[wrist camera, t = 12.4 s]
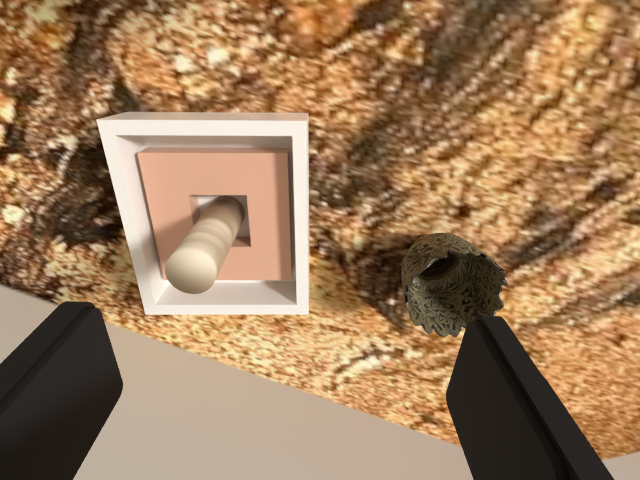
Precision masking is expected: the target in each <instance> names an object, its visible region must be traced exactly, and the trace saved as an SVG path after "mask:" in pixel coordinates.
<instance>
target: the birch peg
mask: <svg viewBox="0 0 640 480" xmlns="http://www.w3.org/2000/svg"><path fill="white" fill-rule="evenodd" d="M244 216H245V211H244V208H243V206H242V204H241V203H240V202H239V201H238V200H237V199H235V198H234V197H231V196H219V197H217V198H215V199H214V200H213V201H212V202H211V204H210V205H209V206H208V208H207V209H206V210H205V212H204V213H203V214H202V216H201V217H200V218H199V220H198V221H197V222H196V223H195V225H194V226H193V227H192V229H191V230H190V231H189V233H188V234H187V235H186V237H185V238H184V239H183V241H182V242H181V243H180V245H179V246H178V247H177V249H176V250H175V251H174V252H173V254H172V255H171V256H170V258H169V259H168V260H167V262H166V265H165V274H166V277H167V279H168V281H169V282H170V284H171V285H172V286H173V287H175V288H176V289H178V290H179V291H181V292H184V293H188V294H200V293H203V292H205V291H207V290H209V289H210V288H211V287H212V285H213V284H214V282H215V280H216V277H217V275H218V273H219V271H220V269H221V267H222V265H223V262H224V260H225V258H226V256H227V254H228V252H229V250H230V247H231V245H232V243H233V241H234V239H235V237H236V235H237V232H238V230H239V228H240V226H241V224H242V222H243V220H244Z"/></svg>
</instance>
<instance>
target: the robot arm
mask: <svg viewBox="0 0 640 480" xmlns="http://www.w3.org/2000/svg"><path fill="white" fill-rule="evenodd" d="M122 389H123V381H122V378H121V375H120V371H119V368H118V365H117V362H116V358H115V355H114V352H113V349H112V345H111V342H110V339H109V336H108V332H107V329H106V326H105V323H104V319H103V316H102V313H101V311H100V310H99V309H98V308H95V306H94V305H93V304H92V303H90V302H71V301H66V302H63V303H62V304H60V305H59V306H58V307H57V308H56V309H55V310H54V311H53V312H52V313H51V314H50V315H49V316H48V317H47V318H46V319H45V320H44V321H43V322H42V323H41V324H40V325H39V326H38V327H37V328H36V329H35V330H34V331H33V332H32V333H31V334H30V335H29V336H28V337H27V338H26V339H25V340H24V341H23V342H22V343H21V344H20V345H19V346H18V347H17V348H16V349H15V350H14V351H13V352H12V353H11V354H10V355H9V356H8V357H7V358H6V359H5V360H4V361H3V362H2V363H1V364H0V480H73V478H74V476H75V475H76V473H77V471H78V469H79V468H80V466H81V464H82V462H83V461H84V459H85V457H86V455H87V454H88V452H89V450H90V448H91V446H92V445H93V443H94V441H95V440H96V438H97V436H98V434H99V433H100V431H101V429H102V427H103V426H104V424H105V422H106V420H107V419H108V417H109V415H110V413H111V411H112V410H113V408H114V406H115V405H116V403H117V401H118V399H119V397H120V395H121V393H122ZM446 401H447V406H448V409H449V412H450V415H451V417H452V420H453V423H454V426H455V429H456V431H457V434H458V437H459V440H460V443H461V445H462V448H463V451H464V454H465V457H466V459H467V462H468V465H469V468H470V471H471V473H472V476H473V479H474V480H614V479H613V477H612V476H611V474H610V473H609V471H608V470H607V468H606V467H605V466H604V464H603V462H602V461H601V459H600V458H599V457H598V455H597V454H596V452H595V451H594V449H593V448H592V446H591V445H590V443H589V442H588V440H587V439H586V437H585V436H584V434H583V433H582V432H581V430H580V429H579V427H578V426H577V424H576V423H575V421H574V420H573V418H572V417H571V415H570V414H569V412H568V411H567V409H566V408H565V407H564V405H563V404H562V402H561V401H560V399H559V398H558V396H557V395H556V393H555V392H554V390H553V389H552V387H551V386H550V384H549V383H548V382H547V380H546V379H545V378H544V377H543V375H542V374H541V373H540V372H539V370H538V369H537V367H536V366H535V364H534V363H533V361H532V360H531V358H530V357H529V355H528V354H527V352H526V351H525V349H524V348H523V346H522V345H521V343H520V342H519V340H518V339H517V337H516V336H515V335H514V333H513V332H512V330H511V329H510V327H509V326H508V324H507V323H506V321H505V320H504V319H503V318H502V317H500V316H476V317H475V319H474V321H469V322H468V324H467V327H466V330H465V333H464V336H463V340H462V343H461V346H460V349H459V353H458V356H457V359H456V362H455V366H454V369H453V372H452V375H451V379H450V382H449V385H448V388H447V392H446Z"/></svg>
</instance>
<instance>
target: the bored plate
mask: <svg viewBox="0 0 640 480" xmlns="http://www.w3.org/2000/svg"><path fill="white" fill-rule="evenodd" d="M137 154H138V159H139V163H140V168H141V173H142V177H143V182H144V187H145V192H146V196H147V201H148V206H149V210H150V215H151V220H152V224H153V229H154V234H155V239H156V243H157V248H158V253H159V257H160V262H161V267H162V271H163V276H164V280H168V279H167V277H166V274H165V265H166V262H167V260H168V259H169V258H170V256H171V255H172V254H173V252H174V251H175V250H176V249H177V247H178V246H179V245H180V243H181V242H182V241H183V239H184V238H185V237H186V235H187V234H188V233H189V231H190V230H191V229H192V227H193V226H194V225H195V223H196V222H197V221H198V220H199V218H200V217H201V216H200V210H199V203H198V196H197V195H247V204H248V216H249V227H250V237H235V239H234V241H233V243H232V245H231V247H230V250H229V252H228V254H227V256H226V258H225V260H224V262H223V265H222V267H221V269H220V271H219V273H218V275H217V277H216V280H292V271H293V259H292V226H291V193H290V160H289V148H244V147H148V148H146V149H144V150H142V151H140V152H137Z"/></svg>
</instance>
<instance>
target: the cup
mask: <svg viewBox="0 0 640 480" xmlns="http://www.w3.org/2000/svg"><path fill="white" fill-rule="evenodd" d="M505 277H507V275H506V273H505V272H504V270H503V269H502V268H501V267H499V266H498V265H497V264H496V263H495V261H494V260H492V259H491V258H490V257H488V256H487V255H485V254H484V253H483V252H482V251H480V250H479V249H478V248H476V247H475V246H474V245H472V244H471V243H469V242H468V241H466V240H465V239H463V238H461V237H458V236H456V235H453V234H447V233H435V234H428V235H424V236H421V237H419V238H418V239H417V240H416V241H415V242H414V243H413V244H412V246H411V247H410V248H409V249H408V251H407V252H406V254H405V256H404V258H403V261H402V267H401V279H402V286H403V292H404V297H405V304H406V309H407V310H408V313H409V316H410V319H411V321H412V322H413V324H414V325H415V326H419V325H422V326H423V328H424V330H425V332H426V333H428V334H430V333H432V329H434V331H435V332H436V333H437V334H438V335H440V336H442V337H446V336H448V335H449V334H450V335H452V336H454V337H457V336H458V334H459V332H460V331H461V327H463V328H465V329H466V327H467V324H468V322H469V321H474V319H475V317H476V316H495V314H496V311H497V310H501V309H502V308H503V307H504V304H503V301H502V300H501V299H500V297H499V294H500V292H502V285H505V286H506V287H508V284H507V282H506V280H505V279H504V278H505Z"/></svg>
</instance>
